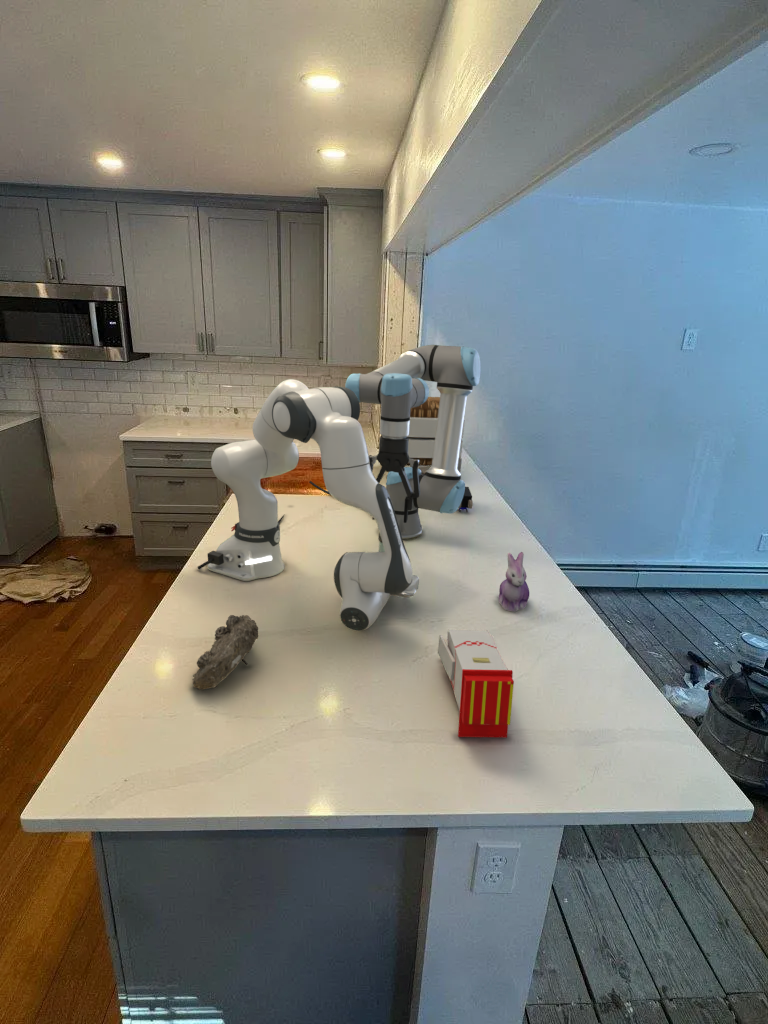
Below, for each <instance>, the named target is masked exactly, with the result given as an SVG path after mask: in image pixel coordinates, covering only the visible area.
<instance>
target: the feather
mask: <svg viewBox="0 0 768 1024" xmlns="http://www.w3.org/2000/svg"><path fill="white" fill-rule="evenodd" d="M285 515H286V514H283V515H282V516H281V518H279V519H278V522H279V525H281V522H282V520H283V519H284V516H285Z"/></svg>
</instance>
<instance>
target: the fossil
mask: <svg viewBox="0 0 768 1024" xmlns="http://www.w3.org/2000/svg"><path fill="white" fill-rule="evenodd" d="M258 639H259V627H258V625H257V622H256V621H255V619H252V618H251V617H250V616H249V615H248V614H244V615H243V614H242V615H240V616H238V615H235V614H230V615H228V617H227V620H226V621H225V626H224V625H223V626H219V627H217V628H216V629H215V631H214V642H213V644H212V645H211V648H210V649H209V650H207V651H205V652H204V653H203V654H201V655H200V656H199V657H198V659H197V661H196V666H197V668H198V670H197V671H196V672H195V673H193V675H192V676H193V678H192V683H193V688H195V689H198V690H200V691H203V690H207V689H211V688H212V689H214V688H216V687H217V686H218V685H219V684H220V683H221V682H222V681H224V680H225V679H226V678H227V677H228V676H229V675H230V674H231V673H232V672H233V671H234V670H236V668H237V667H238V664H239V663H241V662H242V663H243V664H244V665H245V666H248V665H249V664H248V662H247V661H246V659H244V658H245V656H246V655H247V654H249V653H250V652H251V650H252V649H253V646H254V645H255V643H256V641H257V640H258Z"/></svg>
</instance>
